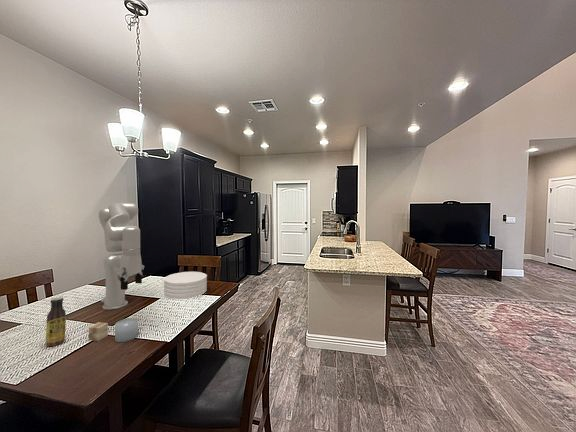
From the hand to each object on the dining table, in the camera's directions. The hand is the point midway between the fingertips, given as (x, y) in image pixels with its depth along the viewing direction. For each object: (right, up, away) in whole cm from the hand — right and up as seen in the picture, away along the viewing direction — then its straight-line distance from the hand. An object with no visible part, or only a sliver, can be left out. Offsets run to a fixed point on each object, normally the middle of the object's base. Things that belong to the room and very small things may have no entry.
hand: (131, 286), depth 122 cm
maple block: (-10, -22, -9) cm, 25 cm away
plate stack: (+6, -20, +52) cm, 56 cm away
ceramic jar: (+2, -22, -7) cm, 23 cm away
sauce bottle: (-25, -22, -14) cm, 35 cm away
